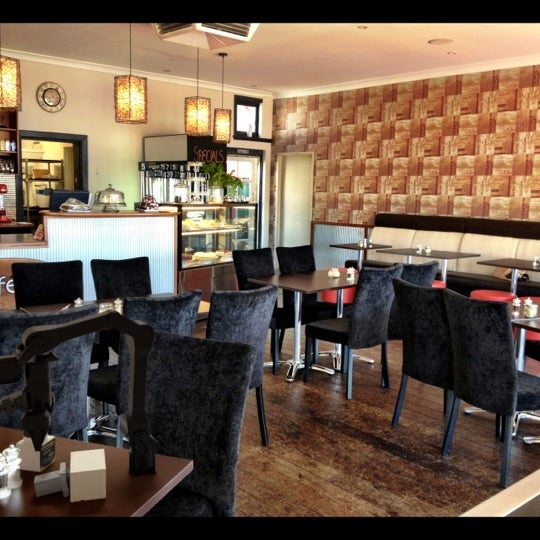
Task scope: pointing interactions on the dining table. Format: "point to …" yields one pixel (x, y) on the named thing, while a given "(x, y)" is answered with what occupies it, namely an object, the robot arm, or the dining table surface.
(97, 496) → the block
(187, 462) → the dining table surface
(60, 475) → the grey flanged bar
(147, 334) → the robot arm
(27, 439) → the medicine bottle
